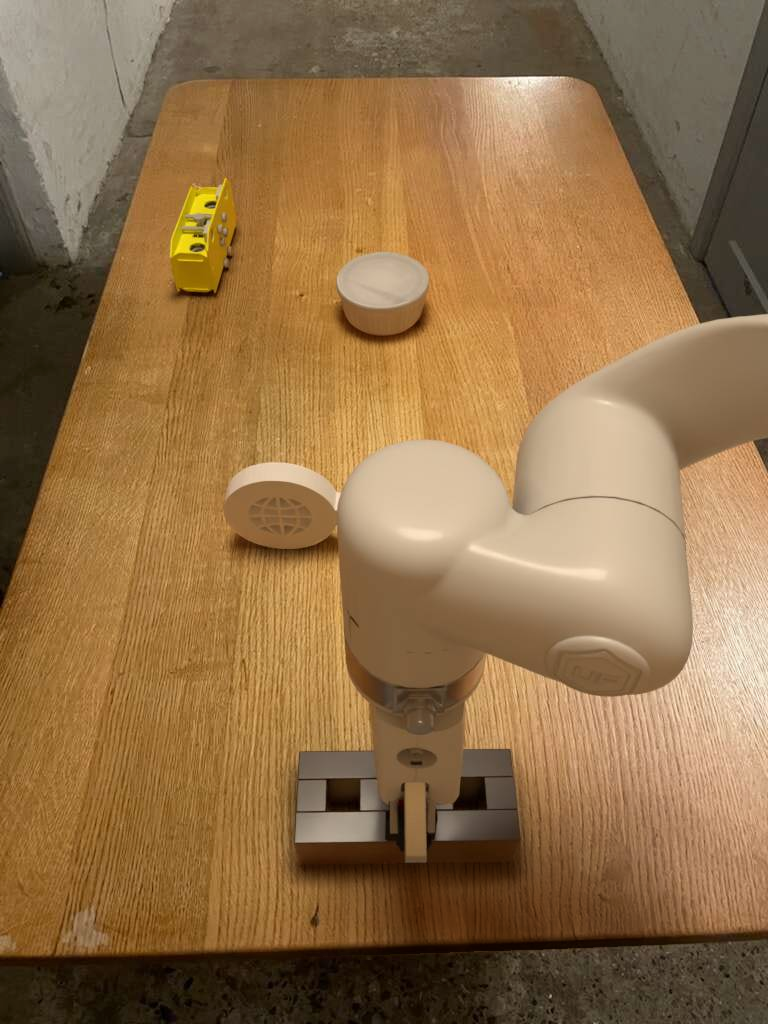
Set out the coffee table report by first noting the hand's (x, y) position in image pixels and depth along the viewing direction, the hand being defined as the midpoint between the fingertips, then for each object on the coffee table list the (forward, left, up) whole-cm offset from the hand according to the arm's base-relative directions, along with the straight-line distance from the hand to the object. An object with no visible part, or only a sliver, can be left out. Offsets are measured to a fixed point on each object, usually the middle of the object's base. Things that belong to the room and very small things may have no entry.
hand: (407, 769), depth 57 cm
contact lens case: (+27, -5, -10) cm, 29 cm away
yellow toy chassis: (+78, -3, -10) cm, 78 cm away
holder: (0, 0, -10) cm, 10 cm away
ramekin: (+59, -21, -10) cm, 63 cm away
